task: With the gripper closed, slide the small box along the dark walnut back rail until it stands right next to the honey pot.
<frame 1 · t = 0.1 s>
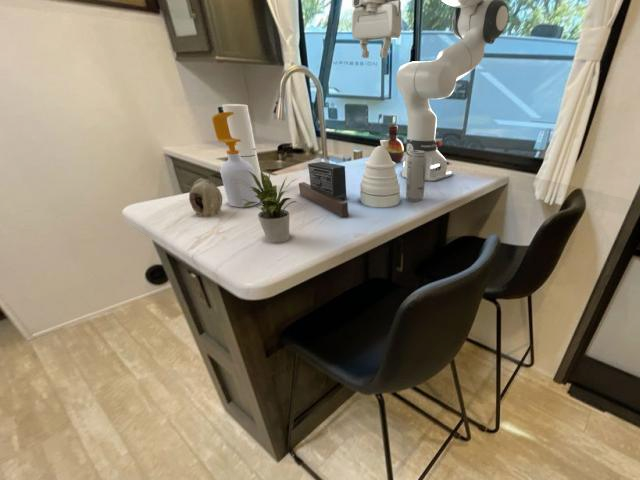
hand: (374, 57, 101), 39 cm above the counter, tool pointing down, fingers open, 8 cm apart
honey pot: (380, 201, 107), on the counter
house plant: (273, 238, 80), on the counter
small box: (329, 198, 108), on the counter
cylindrical container: (252, 188, 114), on the counter
back rail: (322, 205, 102), on the counter
vase: (392, 161, 160), on the counter
energy drink can: (414, 199, 110), on the counter
spray bottle: (245, 203, 100), on the counter
round stone pot: (210, 214, 92), on the counter
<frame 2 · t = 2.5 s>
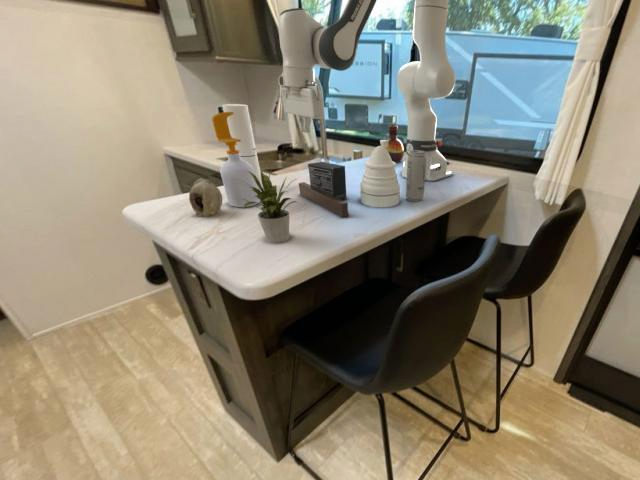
hand: (305, 132, 104), 18 cm above the counter, tool pointing down, fingers closed
nothing on the counter moved.
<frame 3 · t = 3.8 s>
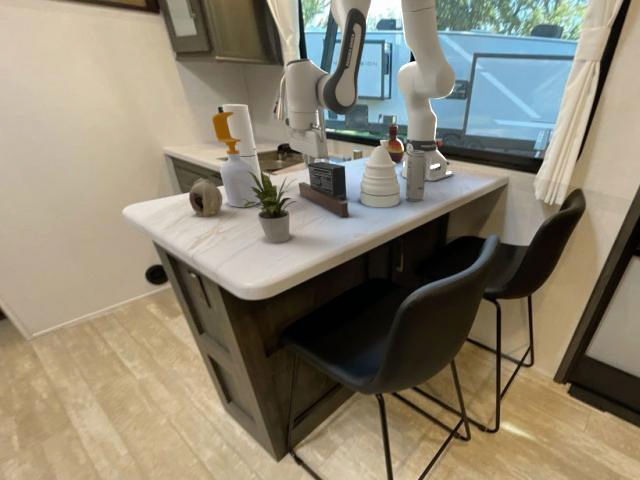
hand: (309, 168, 110), 7 cm above the counter, tool pointing down, fingers closed
nothing on the counter moved.
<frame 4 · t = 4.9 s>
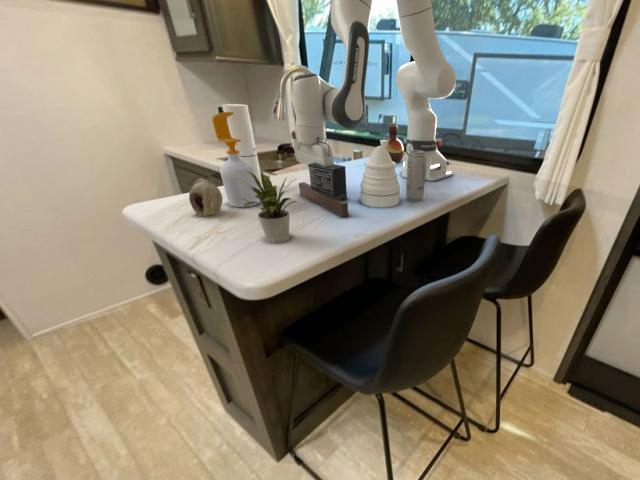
hand: (316, 180, 110), 4 cm above the counter, tool pointing down, fingers closed
small box: (329, 198, 108), on the counter, touching gripper
everything else where it was.
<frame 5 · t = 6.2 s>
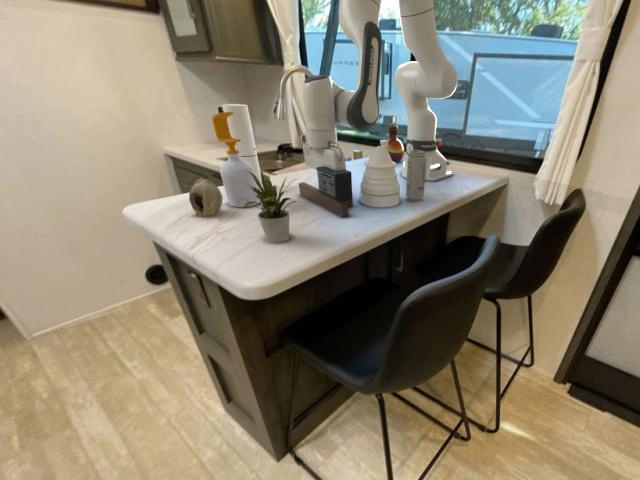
hand: (326, 186, 106), 4 cm above the counter, tool pointing down, fingers closed
small box: (336, 204, 103), on the counter, touching back rail, gripper
everything else where it was.
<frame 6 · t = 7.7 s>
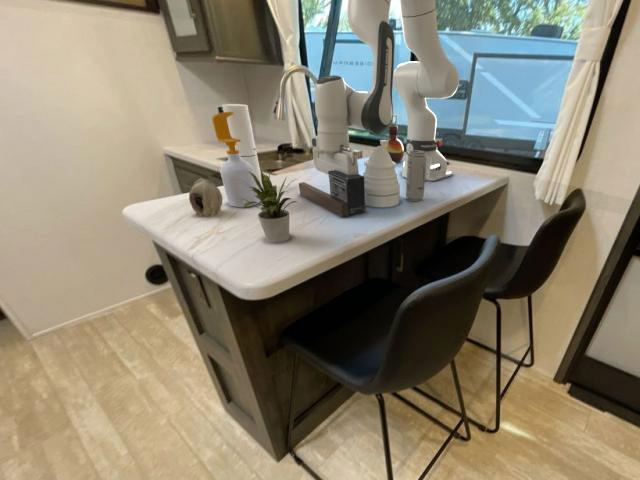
hand: (337, 190, 102), 4 cm above the counter, tool pointing down, fingers closed
small box: (348, 209, 99), on the counter, touching gripper
everything else where it was.
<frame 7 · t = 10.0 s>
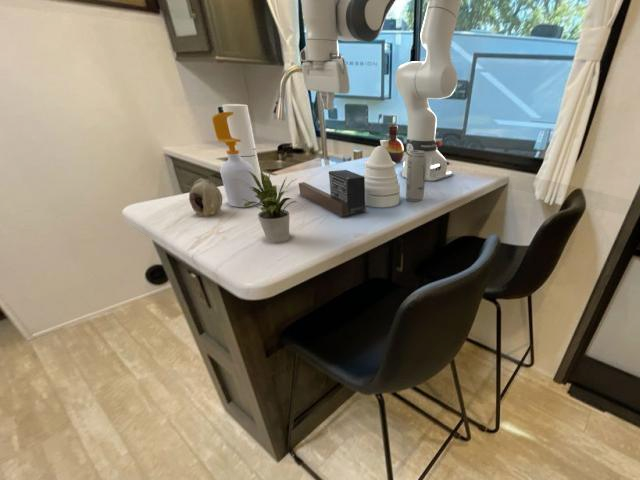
hand: (328, 109, 101), 25 cm above the counter, tool pointing down, fingers closed
small box: (348, 209, 99), on the counter
everything else where it was.
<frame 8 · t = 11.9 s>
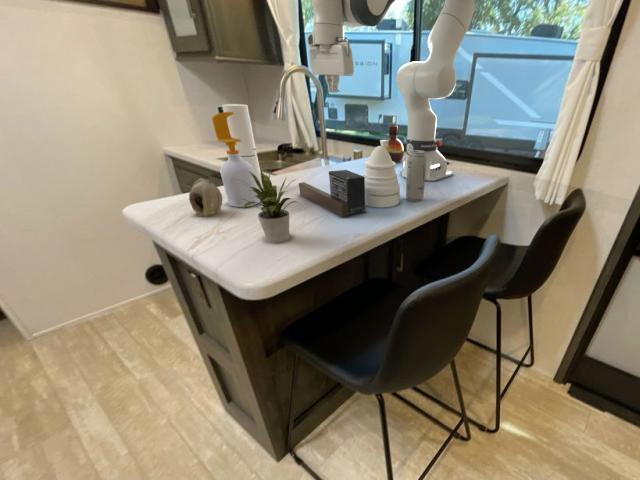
hand: (333, 92, 106), 29 cm above the counter, tool pointing down, fingers closed
nothing on the counter moved.
at the end: small box inside the target area (1.2 cm from its centre), on the counter; small box 13.2 cm from the honey pot (horizontally); small box tilted 0° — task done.
